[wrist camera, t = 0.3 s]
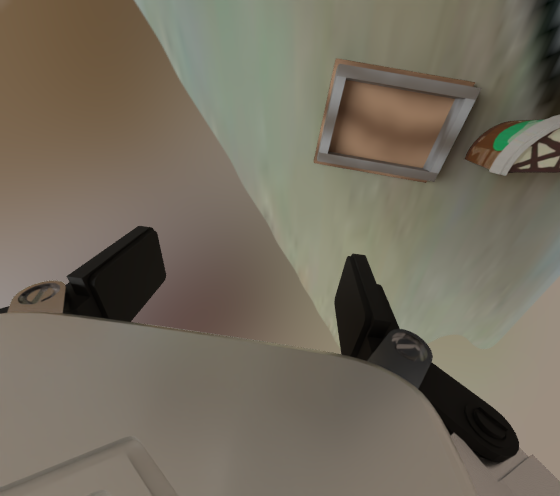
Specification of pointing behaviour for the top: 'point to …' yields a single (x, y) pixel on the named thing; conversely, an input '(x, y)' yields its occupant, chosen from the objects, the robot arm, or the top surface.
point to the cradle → (391, 120)
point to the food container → (519, 147)
